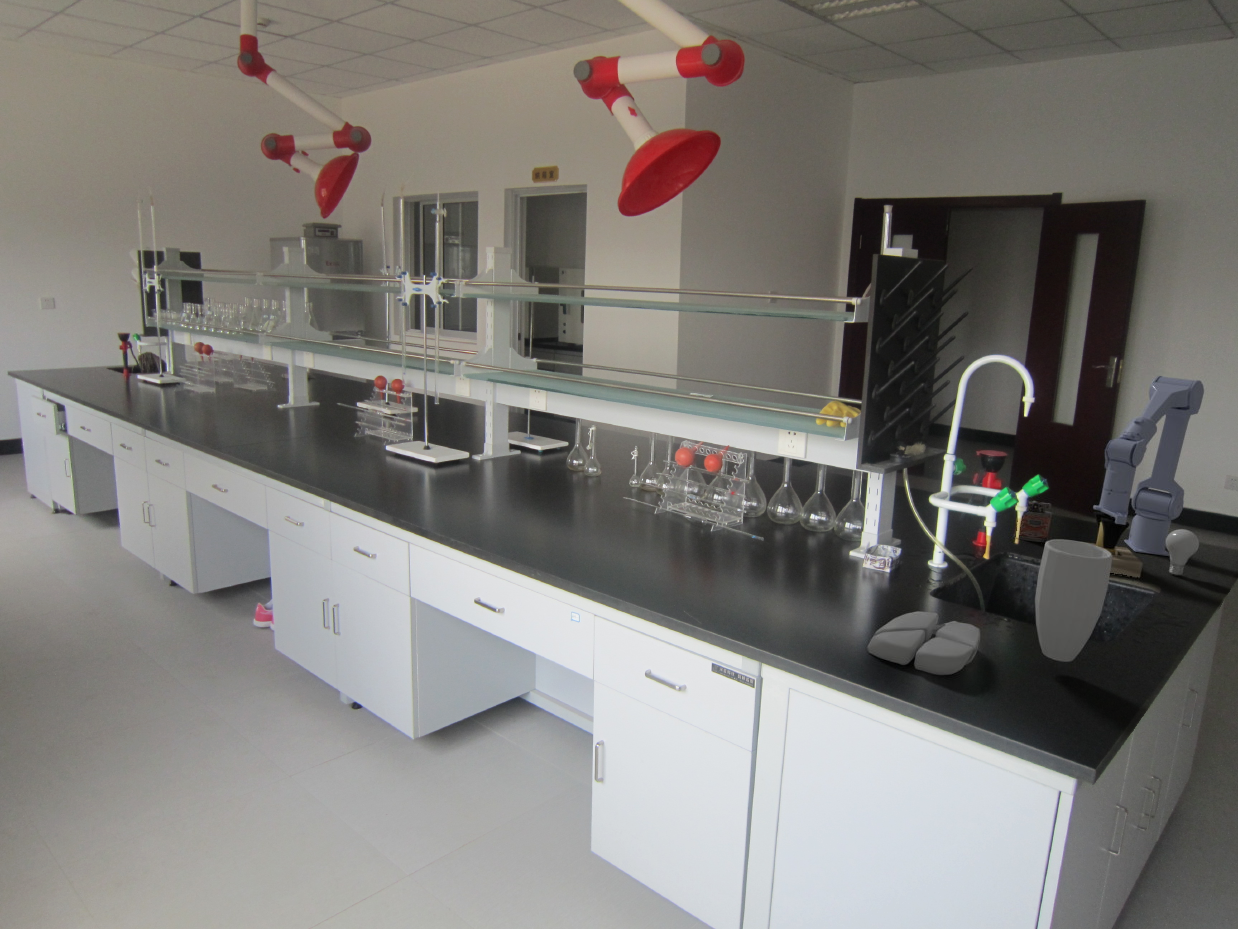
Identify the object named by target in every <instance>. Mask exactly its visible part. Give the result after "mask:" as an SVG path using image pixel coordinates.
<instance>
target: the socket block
mask: <svg viewBox="0 0 1238 929" xmlns="http://www.w3.org/2000/svg"><path fill="white" fill-rule="evenodd" d="M1082 542H1083V543H1086V541H1085V542H1084V541H1082ZM1087 543H1088V544H1091V545H1095V546H1096V543H1094V542H1093V543H1091V542H1087ZM1143 564H1144V563H1143V562H1142V561H1141V560H1140V558H1138V557H1137V556H1136V555H1134V553H1133V552H1132V551H1131V550H1130V549H1129V548H1128V547H1123V546H1116V548H1115V553H1114V555H1112V563H1111V569H1110V573H1114V574H1113V575H1115V574H1123V575H1127V576H1126V577H1130V576H1132V578H1137V577H1138V578H1139V579H1140V578H1141V574H1142V569H1143Z"/></svg>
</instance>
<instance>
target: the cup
mask: <svg viewBox="0 0 1238 929" xmlns="http://www.w3.org/2000/svg"><path fill="white" fill-rule="evenodd" d="M1083 542H1084V541H1079V540H1078V541H1077V540H1072V539H1071V540H1070V539H1050V540H1048V541H1047V542H1044V543H1045V544H1044V548H1043V552H1042V557H1041V561H1040V564H1039V569H1038V574H1037V575H1038V576H1037V582H1036V588H1035V589H1036V590H1035V597H1034V603H1035V625H1036V632H1037V637H1038V642H1039V646H1040V648H1041V652H1042V654H1043V655H1044V656H1046V657H1047V658H1049V659H1051V660H1054V661H1058V662H1065V663H1066V662H1069V663H1070V662H1072V661H1074V660H1075V659H1076V657H1077V656H1078V655H1079V654H1080V653H1081V652H1082V650H1083V649H1084V647H1085V645H1086V643H1087V642H1088V640H1089V639H1090V637H1091V635H1092V633H1093V631H1094V629H1095V627H1096V624H1097V623H1098V620H1099V618H1100V616H1101V614H1102V611H1103V606H1104V603H1105V599H1106V595H1107V591H1108V588H1109V582H1110V581H1109V580H1110V575H1111V574H1110V569H1111V563H1112V554H1111V553H1110V552H1109V551H1107V550H1106V549H1103V548H1101V547H1098V546H1095V545H1091V544H1088V543H1089V542H1085V543H1083Z"/></svg>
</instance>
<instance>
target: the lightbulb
mask: <svg viewBox="0 0 1238 929" xmlns="http://www.w3.org/2000/svg"><path fill="white" fill-rule="evenodd" d="M1165 543H1166V546H1165V548H1166V549H1167V552H1168V553H1169V554H1170V556H1169V561H1170V564H1169V569H1168V572H1169V573H1170V575H1172V576H1176V577H1178V576H1181V575H1183V573H1184V567H1185V565H1186V564H1187V563H1188V560H1189V559H1190V557H1191V556H1193V555H1194V554H1196V552H1197V551H1198V549H1199V546H1200V540H1199V538H1198V537H1197V535H1196V534H1195V533H1194V532H1192V531H1191V530H1188V529H1183V528H1181V529H1179V528H1178V529H1174V530H1173V531H1171V532H1170V533H1168V536H1167V538H1166V542H1165Z"/></svg>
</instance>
